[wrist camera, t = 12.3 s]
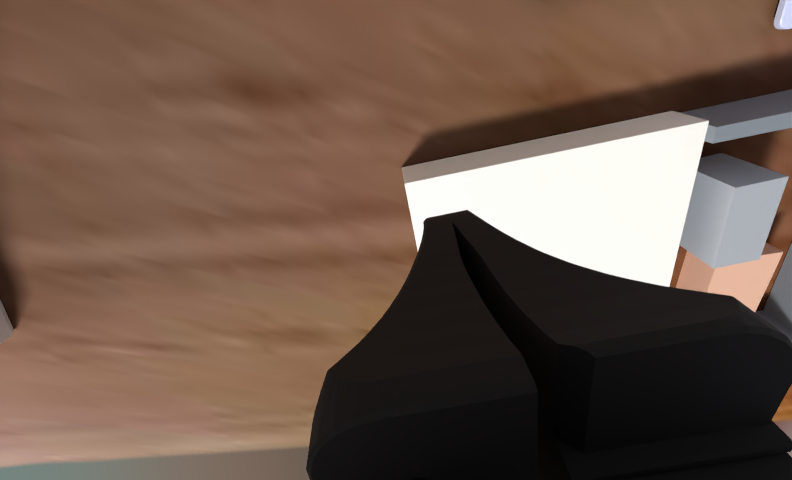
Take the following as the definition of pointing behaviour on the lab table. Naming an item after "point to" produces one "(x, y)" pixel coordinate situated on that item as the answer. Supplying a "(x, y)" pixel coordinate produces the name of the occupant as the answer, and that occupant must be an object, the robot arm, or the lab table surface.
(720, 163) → the grey rectangular block
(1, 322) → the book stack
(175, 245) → the lab table surface
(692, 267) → the peach block
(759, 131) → the grey rectangular frame
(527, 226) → the board
